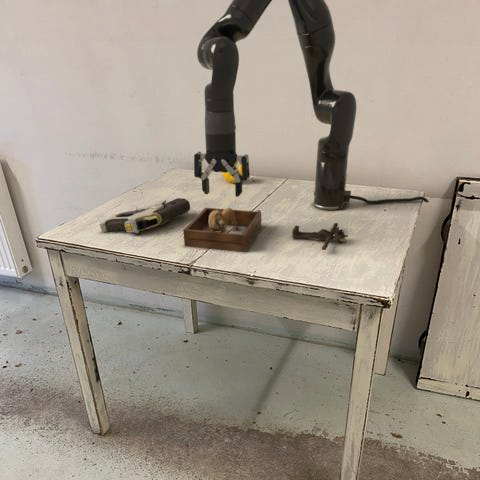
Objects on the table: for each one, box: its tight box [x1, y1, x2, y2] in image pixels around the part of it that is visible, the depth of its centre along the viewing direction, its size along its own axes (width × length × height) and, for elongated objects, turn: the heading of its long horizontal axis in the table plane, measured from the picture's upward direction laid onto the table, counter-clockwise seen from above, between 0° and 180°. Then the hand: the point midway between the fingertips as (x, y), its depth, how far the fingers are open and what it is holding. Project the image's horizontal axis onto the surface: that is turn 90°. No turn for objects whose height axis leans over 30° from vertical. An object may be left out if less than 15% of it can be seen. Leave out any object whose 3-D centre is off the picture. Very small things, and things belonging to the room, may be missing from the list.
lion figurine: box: [208, 207, 239, 233], centre depth 132 cm, size 15×5×9 cm, turn 162°
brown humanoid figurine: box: [291, 222, 349, 251], centre depth 129 cm, size 18×4×14 cm
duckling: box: [221, 160, 242, 184], centre depth 174 cm, size 11×5×10 cm, turn 59°
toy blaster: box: [99, 197, 191, 234], centre depth 142 cm, size 6×25×15 cm
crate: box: [182, 207, 263, 253], centre depth 133 cm, size 17×18×4 cm
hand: (222, 194), depth 128 cm, fingers open, 8 cm apart
